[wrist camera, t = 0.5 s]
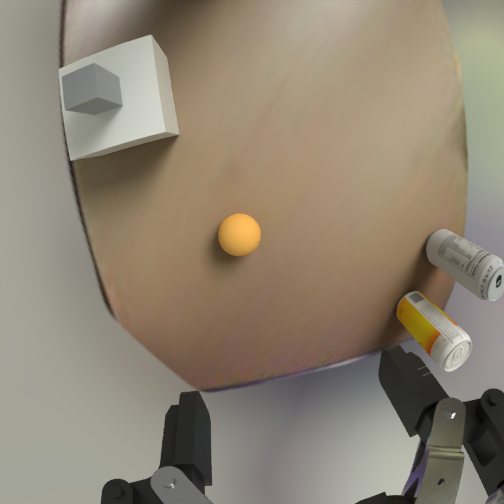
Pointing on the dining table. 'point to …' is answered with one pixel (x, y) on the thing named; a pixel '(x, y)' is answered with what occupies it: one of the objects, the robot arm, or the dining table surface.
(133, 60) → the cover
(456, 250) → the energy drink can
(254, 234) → the ball
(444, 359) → the yellow white cylinder
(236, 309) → the dining table surface
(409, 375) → the robot arm
